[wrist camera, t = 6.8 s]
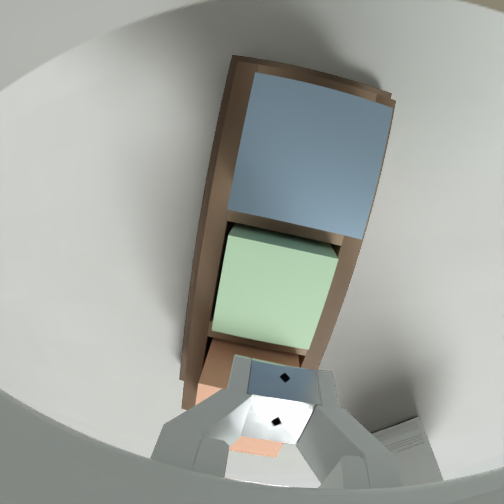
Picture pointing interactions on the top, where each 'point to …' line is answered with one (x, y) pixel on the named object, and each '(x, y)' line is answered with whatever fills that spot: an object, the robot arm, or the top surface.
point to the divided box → (256, 224)
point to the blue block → (309, 155)
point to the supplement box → (411, 452)
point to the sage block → (273, 286)
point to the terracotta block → (218, 377)
